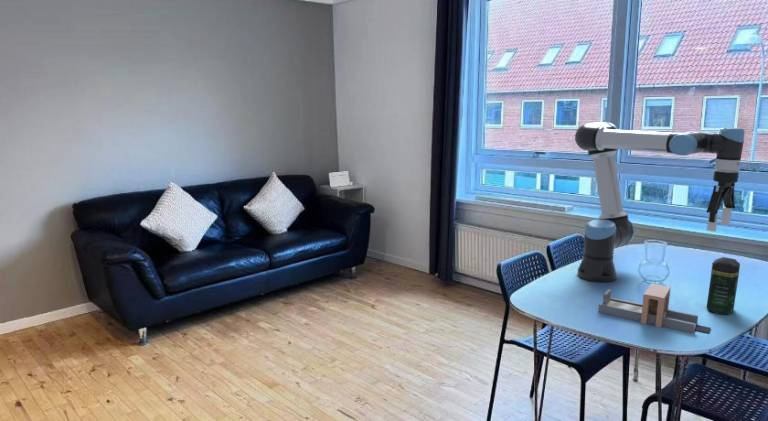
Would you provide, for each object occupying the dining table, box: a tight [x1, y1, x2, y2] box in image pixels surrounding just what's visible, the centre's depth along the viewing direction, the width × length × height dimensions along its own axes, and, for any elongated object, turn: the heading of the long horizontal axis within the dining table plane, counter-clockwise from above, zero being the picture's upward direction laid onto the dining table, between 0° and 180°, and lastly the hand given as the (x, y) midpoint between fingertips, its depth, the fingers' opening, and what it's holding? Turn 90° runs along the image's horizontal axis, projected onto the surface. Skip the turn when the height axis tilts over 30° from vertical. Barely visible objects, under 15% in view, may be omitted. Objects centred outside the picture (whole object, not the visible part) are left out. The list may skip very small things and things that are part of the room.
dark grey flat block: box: [694, 324, 712, 334], centre depth 166 cm, size 4×5×1 cm
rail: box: [597, 297, 699, 334], centre depth 176 cm, size 29×9×3 cm, turn 53°
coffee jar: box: [706, 256, 741, 315], centre depth 180 cm, size 10×8×19 cm
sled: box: [602, 288, 667, 317], centre depth 177 cm, size 19×6×6 cm, turn 53°
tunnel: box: [640, 283, 671, 329], centre depth 173 cm, size 6×12×10 cm, turn 143°
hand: (718, 227), depth 192 cm, fingers open, 13 cm apart
